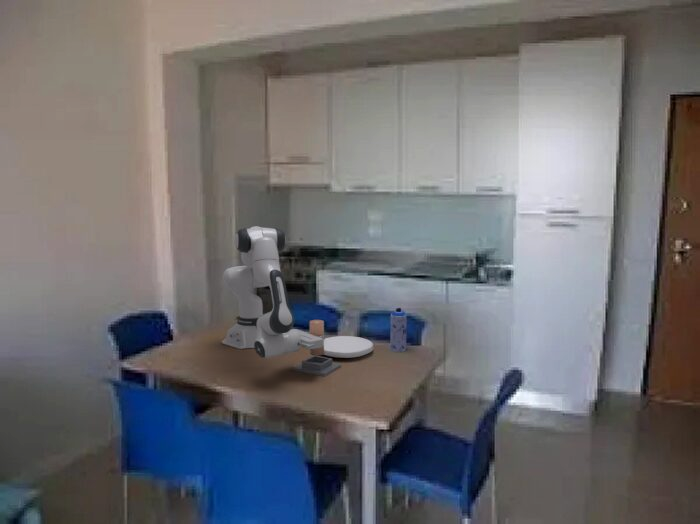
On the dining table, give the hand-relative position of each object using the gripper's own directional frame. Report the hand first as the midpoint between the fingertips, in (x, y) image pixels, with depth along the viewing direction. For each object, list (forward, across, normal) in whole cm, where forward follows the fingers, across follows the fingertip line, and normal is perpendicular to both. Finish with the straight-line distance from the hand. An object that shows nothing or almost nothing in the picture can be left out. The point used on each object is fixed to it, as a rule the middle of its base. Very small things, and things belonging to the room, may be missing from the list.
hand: (318, 335), depth 253 cm
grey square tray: (-1, 0, +15) cm, 15 cm away
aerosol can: (+44, -4, +15) cm, 47 cm away
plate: (+22, +10, +15) cm, 29 cm away
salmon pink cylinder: (-1, 0, +8) cm, 8 cm away
